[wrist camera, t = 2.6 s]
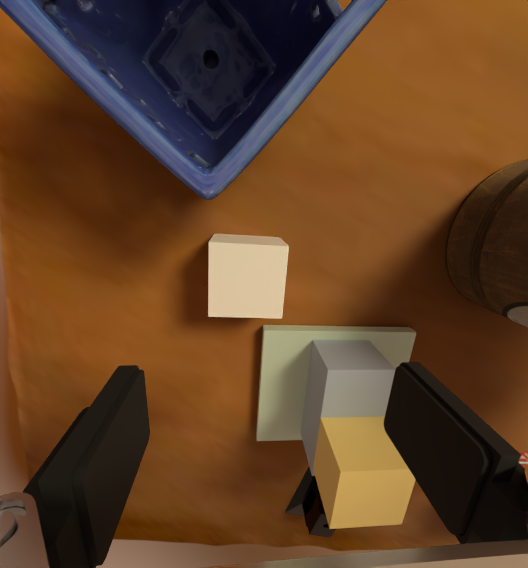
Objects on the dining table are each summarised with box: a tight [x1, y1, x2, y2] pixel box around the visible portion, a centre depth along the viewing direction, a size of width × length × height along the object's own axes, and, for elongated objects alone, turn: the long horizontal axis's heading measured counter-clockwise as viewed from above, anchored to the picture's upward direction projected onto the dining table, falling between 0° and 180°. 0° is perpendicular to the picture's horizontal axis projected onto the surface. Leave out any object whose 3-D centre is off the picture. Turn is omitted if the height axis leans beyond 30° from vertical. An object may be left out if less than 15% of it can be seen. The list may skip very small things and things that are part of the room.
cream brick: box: [208, 234, 289, 319], centre depth 23 cm, size 6×6×5 cm
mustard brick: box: [313, 417, 416, 529], centre depth 23 cm, size 6×6×5 cm
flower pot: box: [0, 0, 387, 200], centre depth 15 cm, size 13×13×12 cm
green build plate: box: [256, 325, 417, 441], centre depth 30 cm, size 14×16×1 cm
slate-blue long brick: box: [301, 340, 396, 476], centre depth 27 cm, size 12×6×5 cm, turn 177°
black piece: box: [285, 467, 335, 537], centre depth 34 cm, size 12×7×5 cm, turn 160°
